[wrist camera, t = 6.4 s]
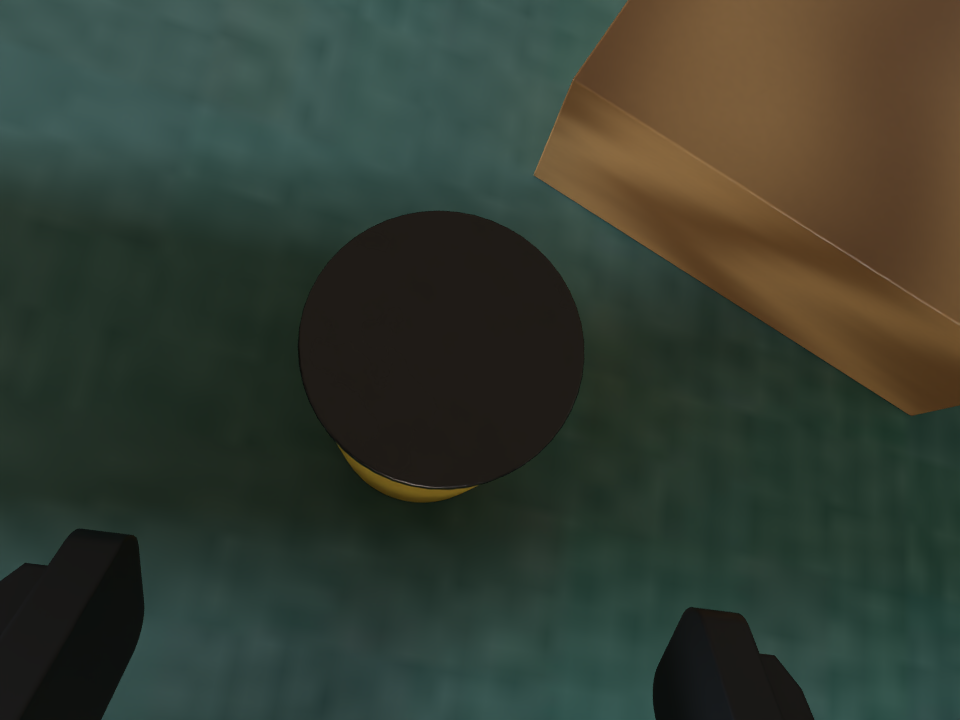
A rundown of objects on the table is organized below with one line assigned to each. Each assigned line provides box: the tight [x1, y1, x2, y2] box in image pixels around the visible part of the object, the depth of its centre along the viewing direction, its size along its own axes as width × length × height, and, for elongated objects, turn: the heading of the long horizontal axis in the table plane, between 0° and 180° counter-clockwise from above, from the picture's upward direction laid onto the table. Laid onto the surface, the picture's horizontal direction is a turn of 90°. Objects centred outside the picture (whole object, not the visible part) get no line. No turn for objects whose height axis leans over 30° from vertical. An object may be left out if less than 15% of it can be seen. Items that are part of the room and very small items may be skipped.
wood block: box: [534, 0, 960, 416], centre depth 22 cm, size 14×14×5 cm
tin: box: [298, 211, 584, 503], centre depth 17 cm, size 5×5×8 cm
